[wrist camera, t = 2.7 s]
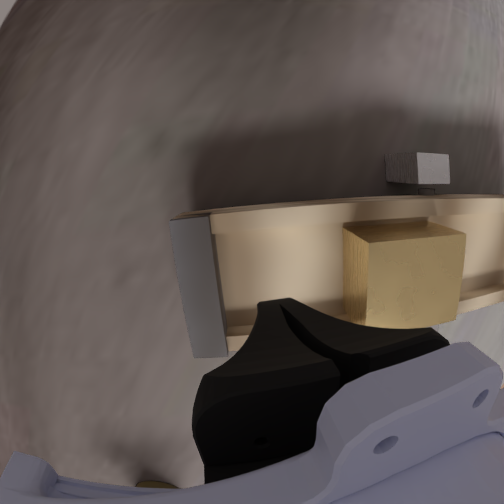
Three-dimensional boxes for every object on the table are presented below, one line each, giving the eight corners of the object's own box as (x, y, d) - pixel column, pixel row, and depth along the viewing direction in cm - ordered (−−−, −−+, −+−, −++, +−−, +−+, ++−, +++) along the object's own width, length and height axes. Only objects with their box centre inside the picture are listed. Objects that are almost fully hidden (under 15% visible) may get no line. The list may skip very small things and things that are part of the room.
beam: (203, 331, 20) (195, 363, 17) (183, 205, 18) (167, 213, 14) (525, 278, 20) (550, 291, 16) (533, 190, 18) (561, 195, 14)
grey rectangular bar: (382, 323, 23) (407, 346, 19) (384, 154, 20) (416, 152, 16) (410, 316, 23) (436, 336, 19) (415, 155, 20) (448, 154, 16)
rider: (342, 307, 18) (364, 340, 14) (342, 227, 16) (368, 243, 13) (423, 294, 18) (455, 319, 14) (428, 220, 16) (466, 233, 13)
